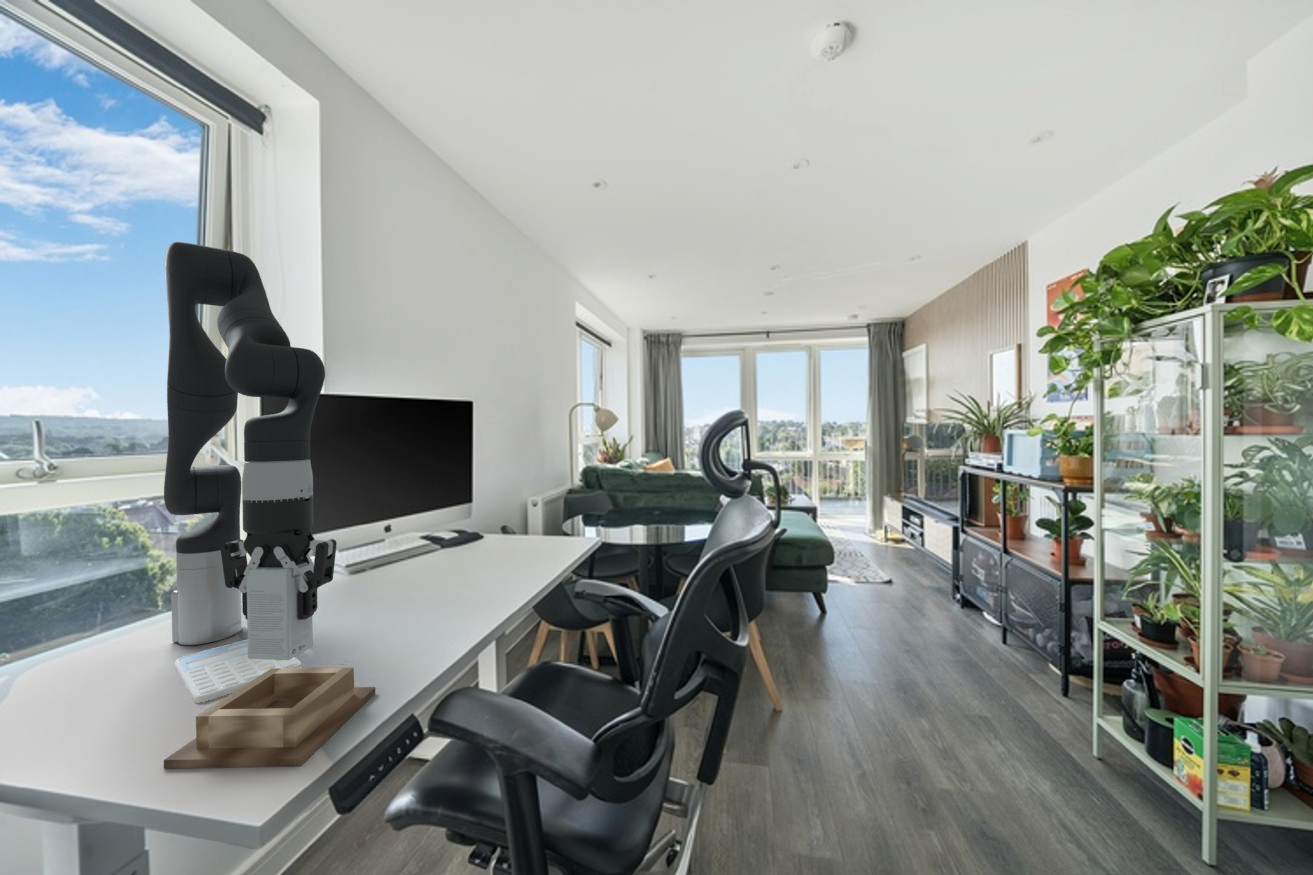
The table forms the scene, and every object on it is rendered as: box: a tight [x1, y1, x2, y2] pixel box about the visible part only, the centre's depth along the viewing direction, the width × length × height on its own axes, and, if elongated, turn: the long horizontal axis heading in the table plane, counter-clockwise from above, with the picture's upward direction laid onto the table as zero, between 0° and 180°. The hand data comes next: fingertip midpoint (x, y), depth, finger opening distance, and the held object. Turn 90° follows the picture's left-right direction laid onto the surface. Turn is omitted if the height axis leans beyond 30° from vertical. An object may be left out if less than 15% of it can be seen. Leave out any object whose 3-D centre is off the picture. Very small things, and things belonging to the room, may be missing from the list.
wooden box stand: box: [163, 667, 376, 769], centre depth 66 cm, size 16×16×5 cm
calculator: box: [174, 638, 303, 704], centre depth 82 cm, size 13×20×2 cm, turn 51°
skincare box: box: [246, 562, 314, 660], centre depth 66 cm, size 6×4×12 cm
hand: (280, 617), depth 66 cm, fingers closed on skincare box, 6 cm apart
